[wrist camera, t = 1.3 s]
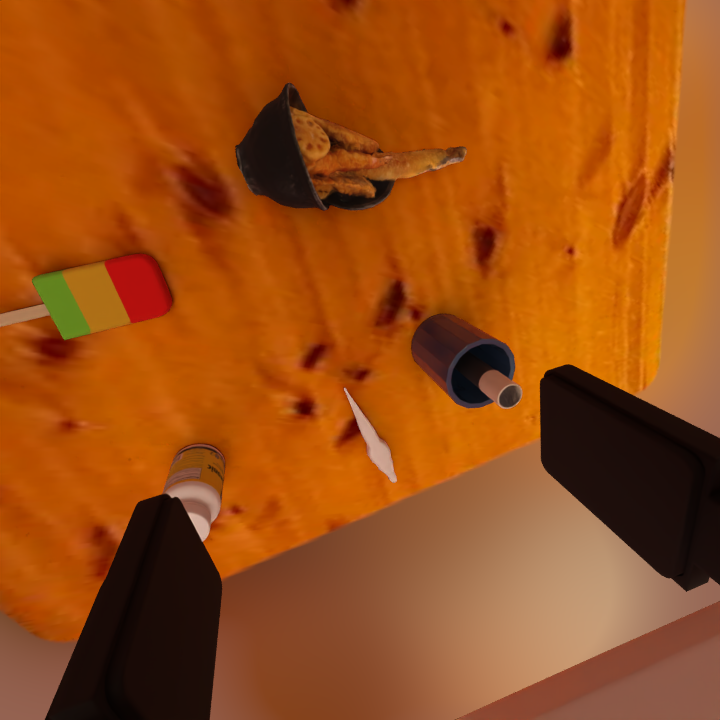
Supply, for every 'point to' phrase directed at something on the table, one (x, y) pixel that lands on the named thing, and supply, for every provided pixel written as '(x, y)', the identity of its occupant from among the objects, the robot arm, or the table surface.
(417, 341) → the pen cup
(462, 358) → the marker pen
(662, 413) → the robot arm
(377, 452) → the pale pink tapered rod
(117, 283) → the popsicle
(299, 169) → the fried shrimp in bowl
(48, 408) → the table surface
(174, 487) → the supplement bottle
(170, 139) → the table surface
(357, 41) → the table surface
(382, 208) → the table surface
